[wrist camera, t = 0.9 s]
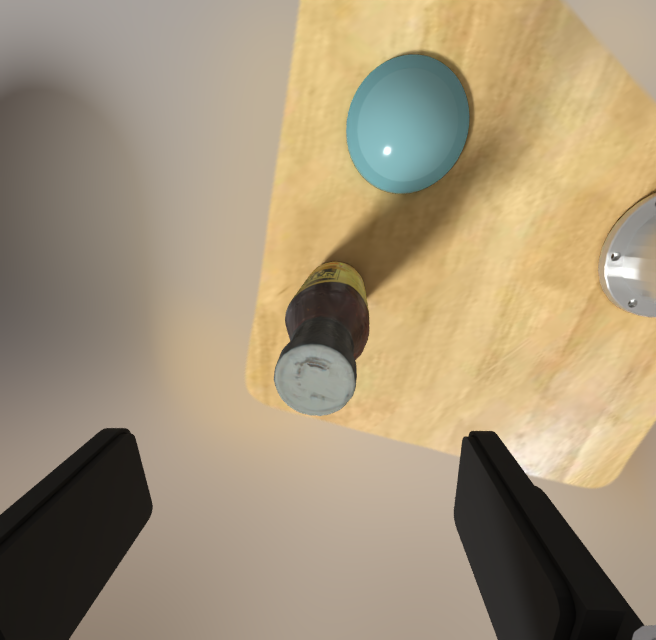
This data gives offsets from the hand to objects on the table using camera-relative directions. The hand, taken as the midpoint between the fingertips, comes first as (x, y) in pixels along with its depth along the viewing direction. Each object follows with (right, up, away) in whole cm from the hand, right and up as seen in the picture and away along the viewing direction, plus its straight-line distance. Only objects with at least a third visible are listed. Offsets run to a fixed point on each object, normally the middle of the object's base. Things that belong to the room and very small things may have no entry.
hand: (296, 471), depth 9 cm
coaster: (+8, +22, +20) cm, 31 cm away
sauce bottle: (+2, +8, +25) cm, 26 cm away
